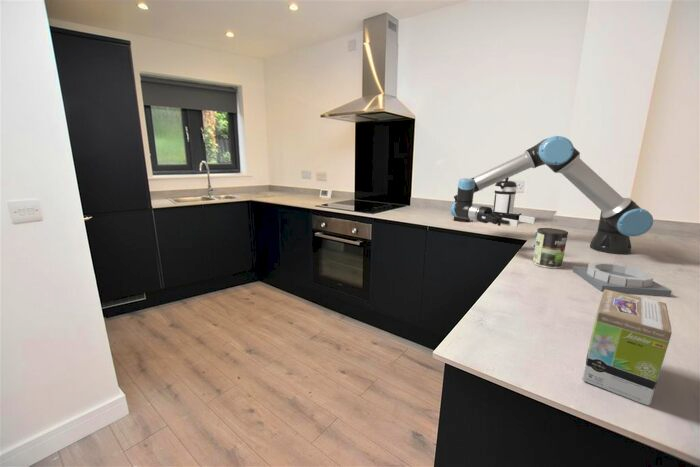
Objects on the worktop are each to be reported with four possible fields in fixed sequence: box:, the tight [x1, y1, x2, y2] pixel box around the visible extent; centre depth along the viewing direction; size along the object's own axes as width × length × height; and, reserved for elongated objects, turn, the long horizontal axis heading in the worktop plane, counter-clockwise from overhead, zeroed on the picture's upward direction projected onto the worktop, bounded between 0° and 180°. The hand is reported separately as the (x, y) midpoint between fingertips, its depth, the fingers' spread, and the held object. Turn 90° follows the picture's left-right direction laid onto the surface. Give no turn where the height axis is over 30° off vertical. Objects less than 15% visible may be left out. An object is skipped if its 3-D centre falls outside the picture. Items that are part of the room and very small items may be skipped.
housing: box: [572, 261, 672, 298], centre depth 108 cm, size 19×19×4 cm
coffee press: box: [492, 177, 518, 214], centre depth 207 cm, size 17×16×30 cm
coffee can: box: [532, 227, 569, 270], centre depth 125 cm, size 10×10×14 cm
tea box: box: [581, 289, 673, 406], centre depth 61 cm, size 15×10×15 cm, turn 138°
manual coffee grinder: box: [453, 194, 472, 223], centre depth 211 cm, size 16×11×18 cm
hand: (526, 222), depth 131 cm, fingers open, 13 cm apart
